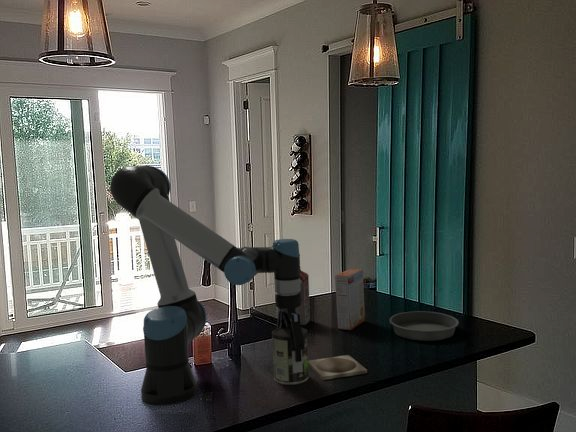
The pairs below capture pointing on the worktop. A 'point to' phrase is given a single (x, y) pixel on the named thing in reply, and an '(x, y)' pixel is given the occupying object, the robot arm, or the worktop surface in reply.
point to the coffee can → (288, 358)
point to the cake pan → (424, 325)
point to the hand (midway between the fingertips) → (290, 364)
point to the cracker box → (350, 299)
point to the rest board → (336, 367)
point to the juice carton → (304, 299)
